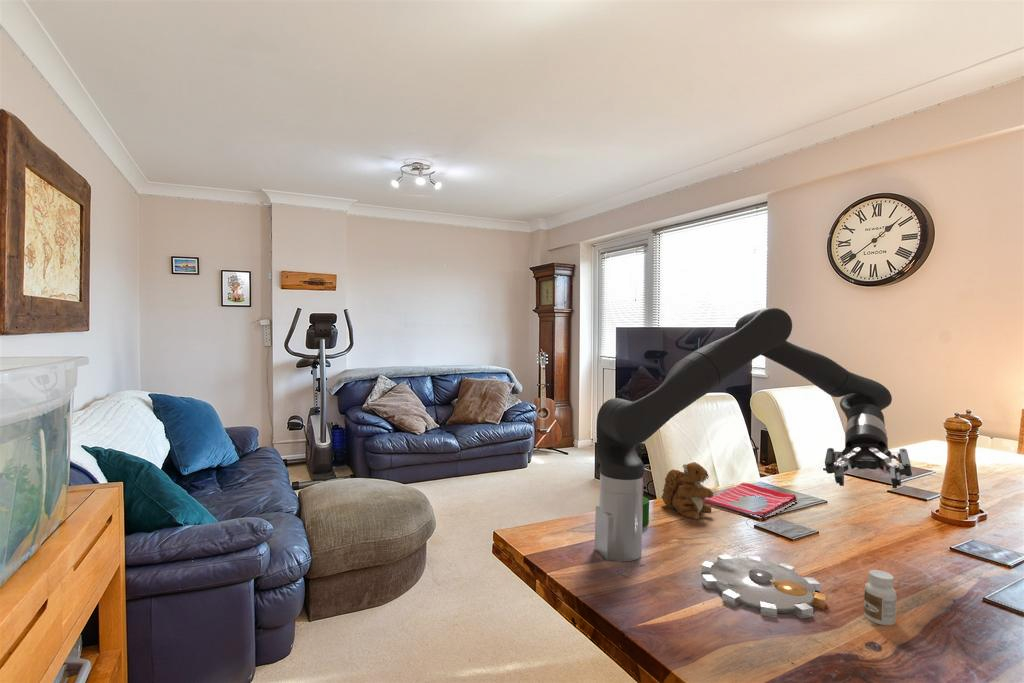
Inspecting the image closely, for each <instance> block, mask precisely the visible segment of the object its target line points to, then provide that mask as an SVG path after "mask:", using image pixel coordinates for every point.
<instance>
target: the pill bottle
mask: <svg viewBox="0 0 1024 683" xmlns="http://www.w3.org/2000/svg"><path fill="white" fill-rule="evenodd" d="M894 580H895V579H894V576H893V575H892V574H890V573H889V572H887V571H883V570H879V569H869V570H868V582H866V583H865V585H864V595H863V596H864V598H863V601H864V602H863V615H864V616H865V617H866V618H867V619H868V620H869V621H871V622H873V623H876V624H879V625H882V626H892V625H895V624H896V617H897V616H896V614H897V591H896V590H895V589H894V588H893V587H894V584H895V583H894Z"/></svg>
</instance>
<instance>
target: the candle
mask: <svg viewBox="0 0 1024 683" xmlns="http://www.w3.org/2000/svg"><path fill="white" fill-rule="evenodd" d="M649 522H650V500H649V498H647V497H646V496H643V518H642V526H643V527H646V526H647V524H648V525H649ZM645 525H646V526H645Z"/></svg>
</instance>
